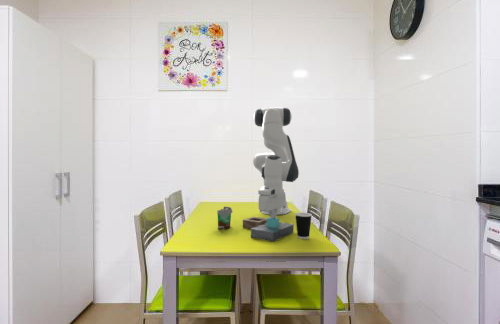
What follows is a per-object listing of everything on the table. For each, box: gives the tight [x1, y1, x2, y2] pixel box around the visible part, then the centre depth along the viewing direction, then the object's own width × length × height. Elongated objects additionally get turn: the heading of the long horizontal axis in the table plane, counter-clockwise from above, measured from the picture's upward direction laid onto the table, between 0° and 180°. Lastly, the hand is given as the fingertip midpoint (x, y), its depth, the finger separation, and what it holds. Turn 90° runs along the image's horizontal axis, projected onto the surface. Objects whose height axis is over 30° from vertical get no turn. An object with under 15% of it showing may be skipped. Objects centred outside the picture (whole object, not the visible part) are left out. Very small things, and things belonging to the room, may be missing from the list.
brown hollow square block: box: [242, 216, 267, 230], centre depth 164 cm, size 10×10×4 cm
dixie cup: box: [294, 212, 313, 240], centre depth 144 cm, size 8×8×11 cm
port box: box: [250, 221, 295, 242], centre depth 149 cm, size 20×12×4 cm, turn 146°
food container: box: [216, 206, 233, 230], centre depth 162 cm, size 12×6×10 cm, turn 168°
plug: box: [266, 216, 280, 228], centre depth 149 cm, size 3×5×8 cm, turn 56°
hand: (272, 218), depth 149 cm, fingers closed, pressing on plug
